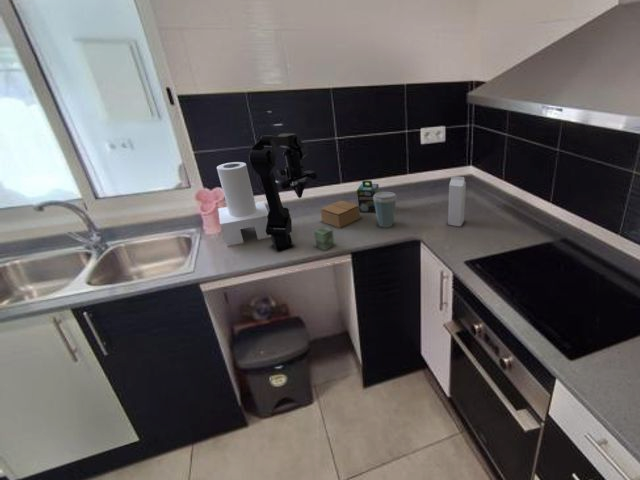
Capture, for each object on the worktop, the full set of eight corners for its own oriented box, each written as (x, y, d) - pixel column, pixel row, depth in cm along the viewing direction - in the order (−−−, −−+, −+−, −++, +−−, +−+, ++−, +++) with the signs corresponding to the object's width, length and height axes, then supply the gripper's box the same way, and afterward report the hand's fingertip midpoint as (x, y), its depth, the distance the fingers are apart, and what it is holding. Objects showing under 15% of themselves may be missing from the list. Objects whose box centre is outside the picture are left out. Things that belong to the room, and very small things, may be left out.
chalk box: (380, 205, 194) (378, 177, 187) (377, 212, 186) (374, 183, 179) (362, 205, 195) (360, 177, 188) (358, 211, 187) (355, 182, 180)
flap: (338, 214, 168) (338, 214, 168) (320, 209, 174) (320, 208, 174) (348, 210, 172) (348, 210, 172) (331, 205, 178) (330, 204, 178)
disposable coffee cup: (372, 221, 176) (370, 190, 169) (395, 218, 179) (394, 188, 172) (376, 230, 167) (374, 198, 160) (400, 228, 170) (399, 196, 163)
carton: (339, 227, 171) (338, 214, 168) (322, 221, 177) (320, 208, 174) (359, 218, 180) (358, 205, 176) (342, 212, 186) (341, 200, 183)
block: (325, 250, 152) (322, 234, 149) (316, 246, 155) (314, 231, 152) (334, 245, 156) (332, 230, 152) (326, 242, 158) (324, 227, 155)
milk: (460, 226, 171) (463, 179, 160) (447, 224, 172) (449, 178, 162) (464, 221, 176) (466, 175, 165) (451, 219, 177) (453, 173, 167)
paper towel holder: (224, 229, 171) (205, 163, 156) (267, 220, 178) (253, 157, 164) (226, 246, 156) (206, 175, 142) (273, 236, 164) (259, 168, 149)
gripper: (299, 155, 174) (305, 188, 181) (263, 165, 161) (271, 200, 168) (315, 159, 168) (320, 193, 175) (279, 170, 155) (286, 205, 162)
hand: (299, 197), depth 171 cm, fingers closed
